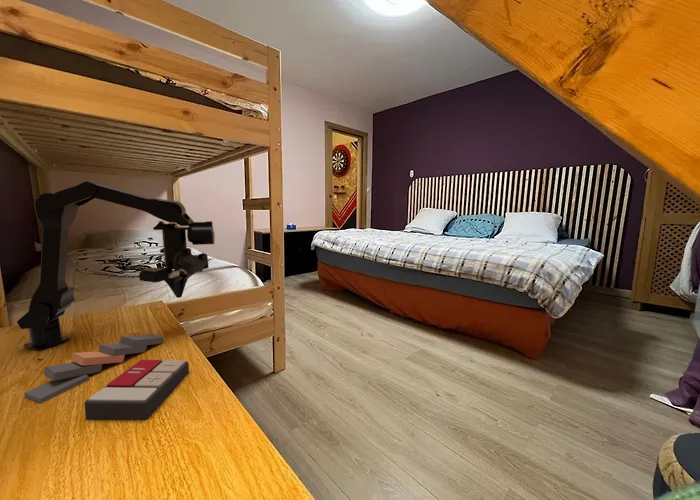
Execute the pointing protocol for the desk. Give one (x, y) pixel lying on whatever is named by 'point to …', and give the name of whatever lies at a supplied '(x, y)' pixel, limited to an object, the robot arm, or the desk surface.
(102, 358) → the domino
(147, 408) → the calculator
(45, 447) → the desk surface
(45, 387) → the domino
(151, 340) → the domino
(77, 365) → the domino
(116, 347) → the domino
